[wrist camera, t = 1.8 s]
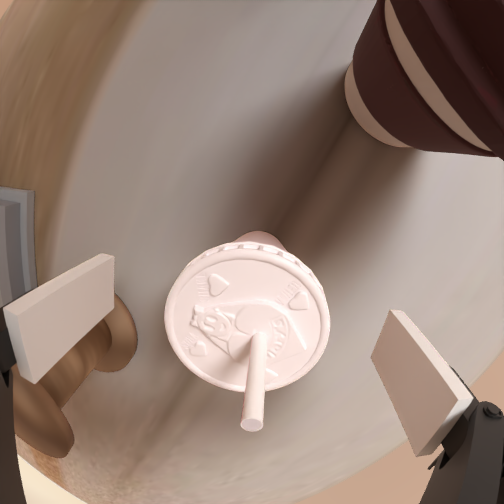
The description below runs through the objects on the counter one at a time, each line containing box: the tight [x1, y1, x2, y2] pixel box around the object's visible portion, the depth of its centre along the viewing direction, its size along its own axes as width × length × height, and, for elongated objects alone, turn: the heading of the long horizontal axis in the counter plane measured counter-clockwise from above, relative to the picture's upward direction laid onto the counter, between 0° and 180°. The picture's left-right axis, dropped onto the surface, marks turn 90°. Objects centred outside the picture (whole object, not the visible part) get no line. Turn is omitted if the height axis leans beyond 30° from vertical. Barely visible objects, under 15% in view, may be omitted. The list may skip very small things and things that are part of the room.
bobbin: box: [11, 293, 138, 458], centre depth 17 cm, size 9×9×12 cm
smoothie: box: [164, 231, 330, 431], centre depth 13 cm, size 6×6×14 cm
